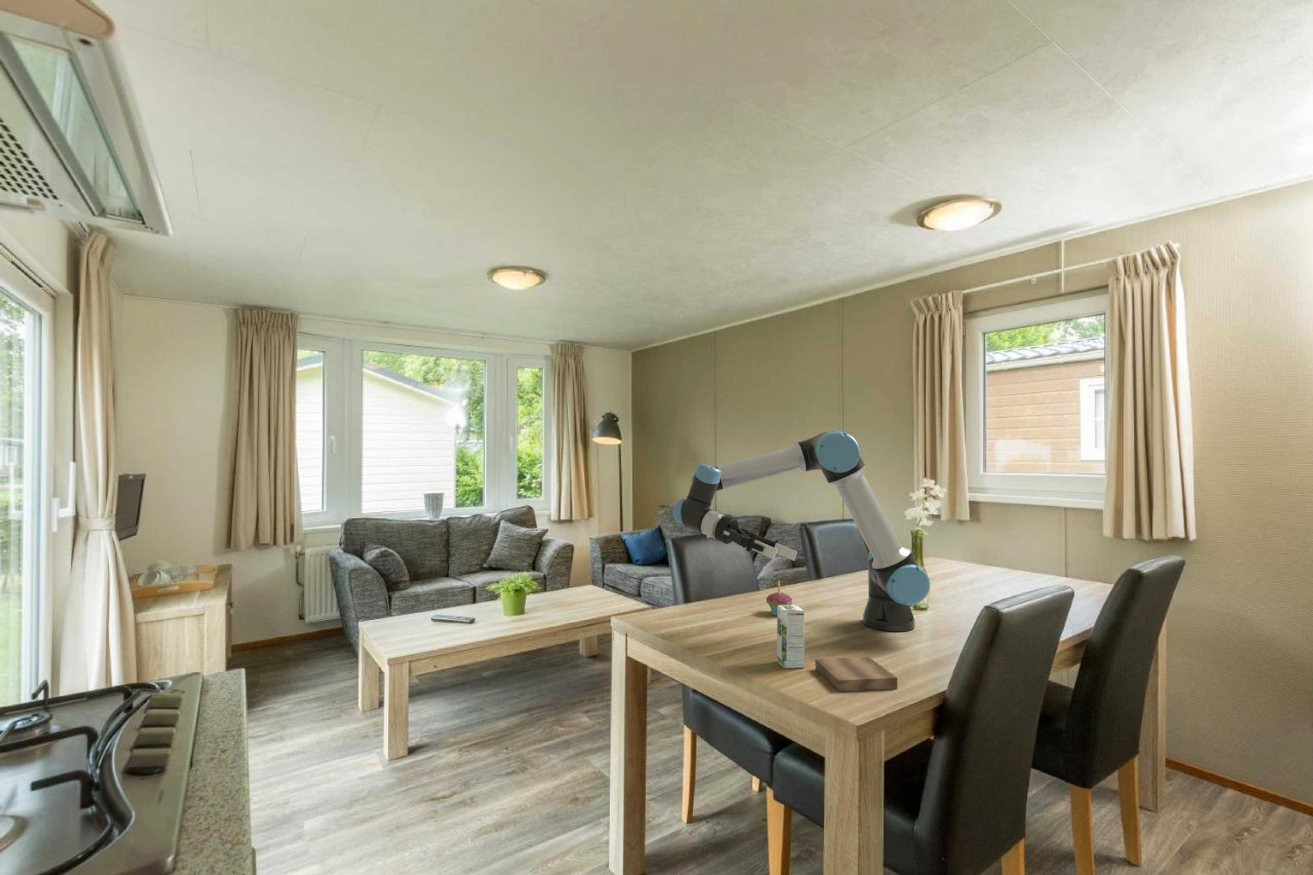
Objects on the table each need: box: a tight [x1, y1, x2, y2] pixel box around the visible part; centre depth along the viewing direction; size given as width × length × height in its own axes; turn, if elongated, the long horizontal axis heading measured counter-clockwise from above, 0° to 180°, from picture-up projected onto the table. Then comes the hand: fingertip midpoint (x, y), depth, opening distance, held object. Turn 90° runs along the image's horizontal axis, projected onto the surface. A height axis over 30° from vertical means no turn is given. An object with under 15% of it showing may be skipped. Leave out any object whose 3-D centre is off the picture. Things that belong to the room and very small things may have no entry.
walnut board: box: [815, 656, 898, 692], centre depth 145 cm, size 14×14×2 cm
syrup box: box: [776, 604, 806, 669], centre depth 154 cm, size 6×6×14 cm
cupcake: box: [765, 580, 793, 616], centre depth 201 cm, size 9×8×12 cm
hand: (786, 555), depth 161 cm, fingers open, 13 cm apart
